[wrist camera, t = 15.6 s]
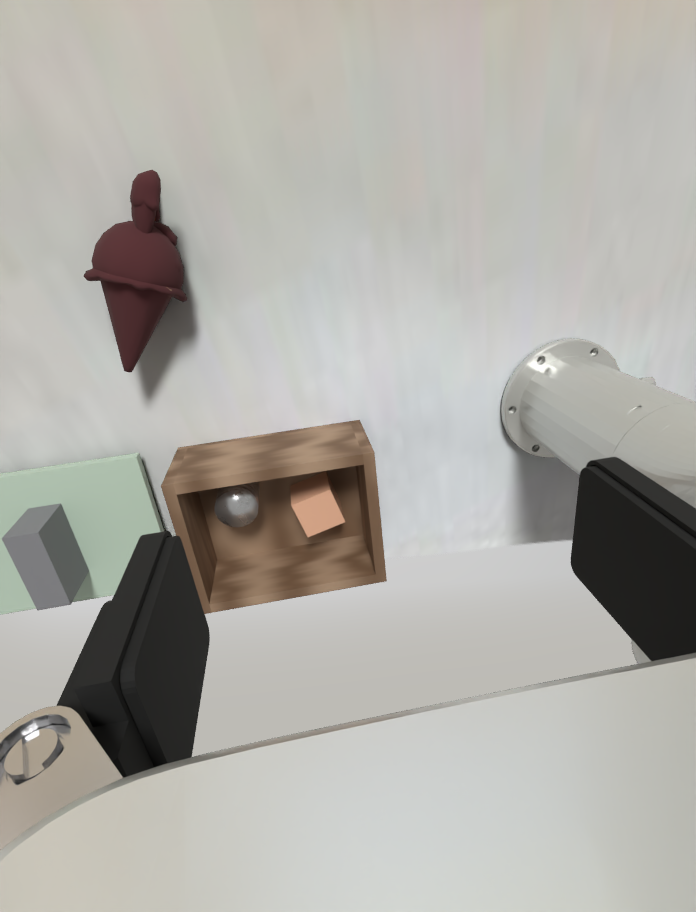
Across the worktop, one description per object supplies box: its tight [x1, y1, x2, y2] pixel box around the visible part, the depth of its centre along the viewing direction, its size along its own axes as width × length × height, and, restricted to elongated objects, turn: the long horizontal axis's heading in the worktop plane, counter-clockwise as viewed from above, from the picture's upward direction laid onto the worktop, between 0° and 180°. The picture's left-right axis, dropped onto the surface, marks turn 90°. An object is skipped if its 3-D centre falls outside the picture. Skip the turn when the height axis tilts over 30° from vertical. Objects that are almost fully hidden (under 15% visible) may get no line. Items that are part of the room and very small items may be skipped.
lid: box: [0, 453, 164, 615], centre depth 46 cm, size 19×15×7 cm
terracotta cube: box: [290, 471, 345, 537], centre depth 49 cm, size 4×4×4 cm
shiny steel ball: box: [215, 482, 259, 527], centre depth 47 cm, size 4×4×4 cm
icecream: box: [84, 170, 187, 372], centre depth 38 cm, size 7×7×15 cm
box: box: [161, 420, 386, 614], centre depth 48 cm, size 18×14×8 cm
